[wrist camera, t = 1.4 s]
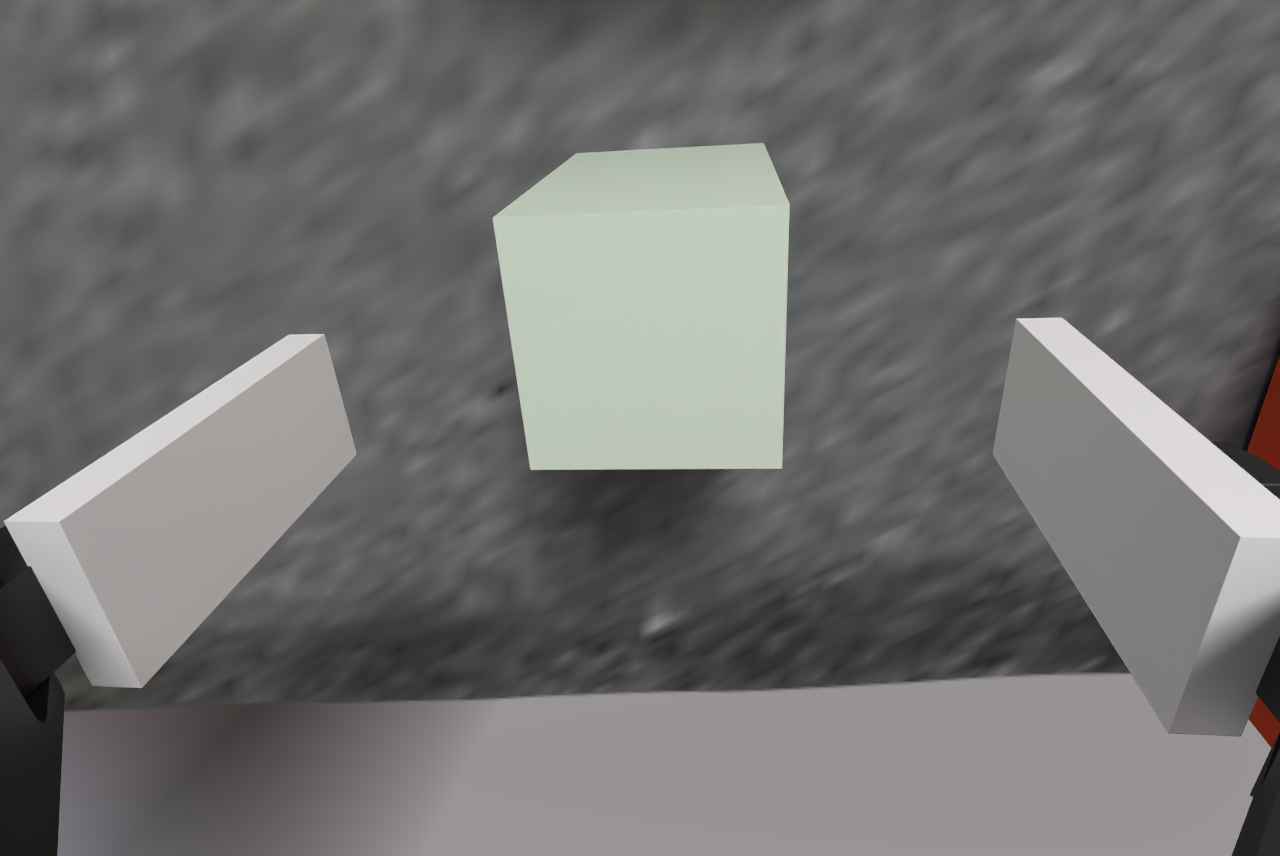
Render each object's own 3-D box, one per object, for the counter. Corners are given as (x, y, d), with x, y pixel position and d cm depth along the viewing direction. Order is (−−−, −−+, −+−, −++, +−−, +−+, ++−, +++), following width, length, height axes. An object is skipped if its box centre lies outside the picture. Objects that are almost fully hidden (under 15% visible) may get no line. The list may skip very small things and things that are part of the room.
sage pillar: (593, 329, 27) (530, 469, 18) (576, 153, 24) (492, 217, 15) (761, 324, 26) (782, 468, 17) (763, 143, 23) (789, 204, 15)
